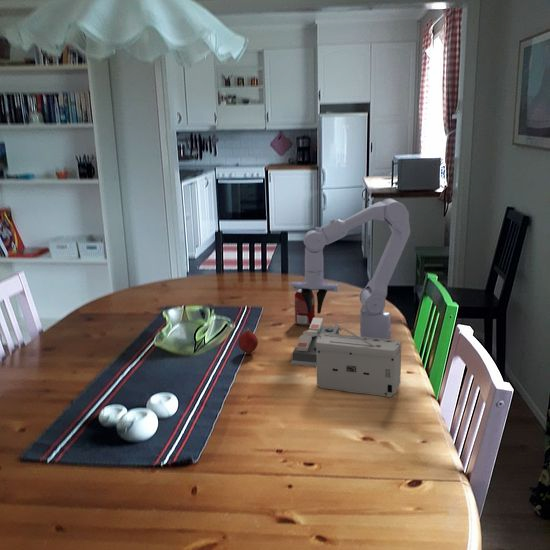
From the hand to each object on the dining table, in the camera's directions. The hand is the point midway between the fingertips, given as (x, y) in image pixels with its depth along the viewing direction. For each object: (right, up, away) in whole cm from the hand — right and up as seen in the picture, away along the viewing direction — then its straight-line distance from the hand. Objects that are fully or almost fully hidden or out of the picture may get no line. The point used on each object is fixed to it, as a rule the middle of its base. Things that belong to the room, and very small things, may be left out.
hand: (314, 312), depth 174 cm
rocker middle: (-2, -6, -4) cm, 8 cm away
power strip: (0, -11, -4) cm, 11 cm away
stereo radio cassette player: (+9, -18, -30) cm, 36 cm away
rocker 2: (+1, -4, +3) cm, 5 cm away
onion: (-20, -12, -7) cm, 25 cm away
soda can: (-2, -5, +18) cm, 19 cm away
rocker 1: (-4, -8, -12) cm, 15 cm away
